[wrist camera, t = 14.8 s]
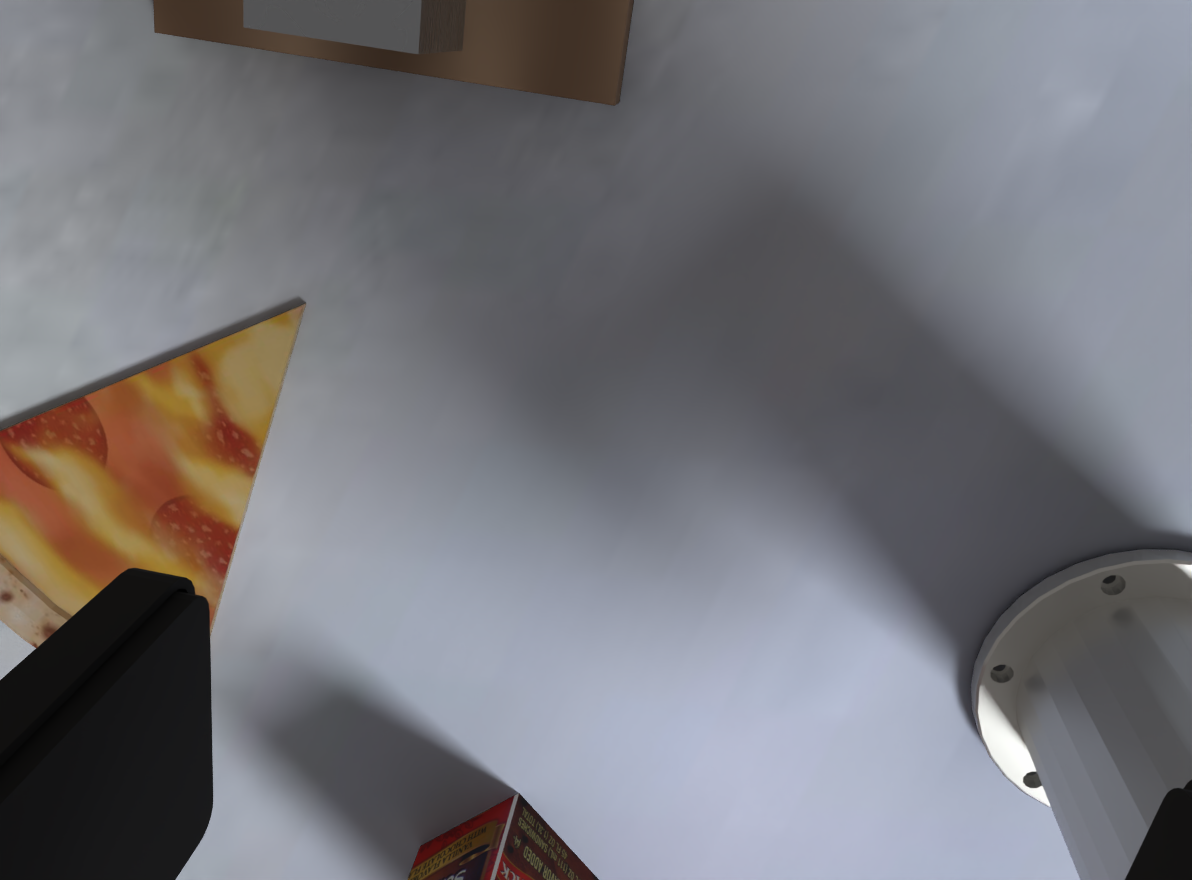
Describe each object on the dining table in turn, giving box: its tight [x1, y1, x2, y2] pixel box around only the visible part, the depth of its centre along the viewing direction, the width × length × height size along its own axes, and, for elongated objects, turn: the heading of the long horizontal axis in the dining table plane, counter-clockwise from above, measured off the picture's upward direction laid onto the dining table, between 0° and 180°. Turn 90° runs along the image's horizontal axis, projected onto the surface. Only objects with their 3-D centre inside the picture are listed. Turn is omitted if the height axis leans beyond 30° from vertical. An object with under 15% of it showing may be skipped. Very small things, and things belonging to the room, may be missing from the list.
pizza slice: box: [0, 303, 306, 648], centre depth 43 cm, size 16×22×2 cm
